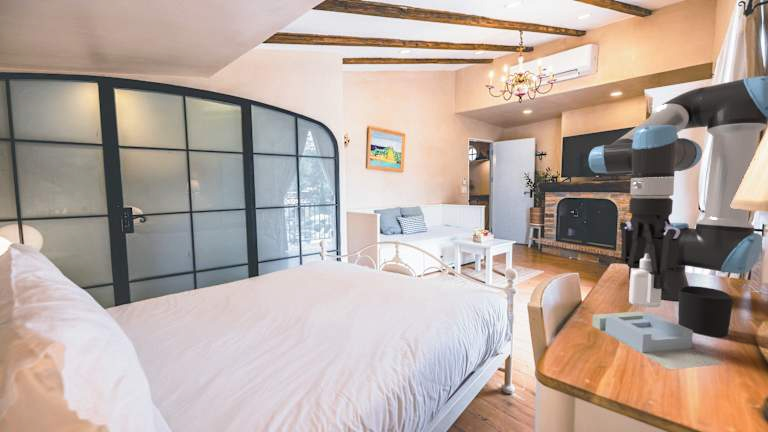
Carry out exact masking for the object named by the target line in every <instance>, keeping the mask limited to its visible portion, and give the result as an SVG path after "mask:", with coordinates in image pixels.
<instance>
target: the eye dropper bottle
mask: <svg viewBox="0 0 768 432" xmlns="http://www.w3.org/2000/svg"><path fill="white" fill-rule="evenodd" d="M649 272H652V266H651V259H650V256H649V254H645V256H644V258H642V259H640V269H636V270H633V271H632V272H631V274H630V280H629V291H628V292H629V293H628V302H629V303H630V304H631V305H632V306H635V307H641V308H643V307H644V308H659V307H661V306H660V305H661V302H653V303H649V302H647V289H648V273H649Z"/></svg>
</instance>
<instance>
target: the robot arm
mask: <svg viewBox="0 0 768 432" xmlns="http://www.w3.org/2000/svg"><path fill="white" fill-rule="evenodd" d="M704 127H707V129H706V131H707V133H708V134H710V135H711V136H712V146H711V147H712V148H711V155H710V164H709V173H708V180H707V181H708V183H707V190H706V199H705V206H704V207H705V208H704V215H703V218H702V219H700V220H698V221H697V222H696V223H695V228H692V227H691V228H690V225H689V224H688V223H687V222H671V221H670V218H669V217H670V215H672V213H673V204H674V203H673V202H674V201H673V199H672V198H671V196H673V195H674V186H675V172H683V171H686V170H689V169H691V168H693V167H695V166H696V165H698V163H699V162H700V160H701V159H702V157H703V156H702V155H703V150H702V147H701V145H699V143H697V142H696V141H694V140H692V139H689V138H686V137H680V138H679V135H678V133H679V132H681V131H684V130H687V129H696V128H704ZM767 127H768V75H760V76H755V77H744V78H743V79H737V80H734V81H728V82H724V83H719V84H714V85H709V86H705V87H698V88H694V89H691V90H688V91H685V92H682V93H681V94H679V95H677V96H675V97H673V98H671V99H669V100H668V101H665V102H664V103H663V104H661V105H659V106H658V107H657V108H655V109H654V110H653V111H652V113H651V114H650V116H649V117H648V118H646V119H645V120H644V121H642V122H641V123H639V124H638V125H637V126H635V127H634V128H633V129H631V130H630V131H628V132H626V133H625V134H624V135H623V136H621V137H619V138H618V139H616V140H615V141H614V142H612V143H611V144H606V145H605V144H602V145H600V146H596V147H593V148H592V149H591V151H590V152H589V154H588V165H589V168H590V170H591V171H592V173H596V174H606V175H607V174H614V173H615V174H619V173H631V175H630V191H629V192H630V193H629V195H630V196H633V197H630V198H629V205H628V206H629V208H628V211H629V212H628V213H629V214H631V218H629V221H625V222H620V223H619V227H620V232H621V255H620V256H621V258H620V259H621V263H623V264H626V265H627V267H628V279H629V281H630V274H631V272H632V271H633V270H636V269H640V259H642V258H644V256H645V254H649V256H650V259H651V266H652V272H649V273H648V289H647V302H649V303H653V302H660V303H661V302H662V301H661V300H666V301H668V300H669V301H679V290H680V288H682V287H684V286H690V285H689V282H688V278H687V276H686V275H687V274H686V267H693V268H699V269H703V270H711V271H716V272H721V273H729V274H737V275H742V274H747V273H748V272H750V271H752V270H753V268H754V266H755V265H756V264H757V261H758V260H759V258H760V255H761V252H762V249H763V240H764V239H763V236H762V235H761V234H759V233H757V232H755V226H754V225H753V224H752V223H751V222H750V221H748V217H749V216H748V215H749V209H748V210H741V209H733V208H731V207H730V204H731V202H732V200H733V197H734V196H735V194H736V192H737V190H738V188H739V185H740V184H741V182H742V179H743V178H744V175H745V173H746V171H747V169H748V167H749V166H750V163H751V161H752V159H753V157H754V155H755V156H756V150H757V142H758V135H759V133H760V132H762V131H764V130H765V129H766V128H767Z"/></svg>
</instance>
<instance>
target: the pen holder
mask: <svg viewBox="0 0 768 432" xmlns="http://www.w3.org/2000/svg"><path fill="white" fill-rule="evenodd" d="M733 304H734V300H733V298H732V297H731V295H730V294H728V293H727V292H726V291H723V290H719V289H716V288H710V287H703V286H697V285H695V286H694V285H689V286H684V287H682V288H680V290H679V300H678V312H677V313H678V324H679V325H681V326H683V327H686V328H688V329H691V330H693V334H697V335H700V336H706V337H711V338H725V337H727V336H728V335H729V329H730V323H731V316H732V310H733Z"/></svg>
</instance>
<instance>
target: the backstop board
mask: <svg viewBox="0 0 768 432" xmlns="http://www.w3.org/2000/svg"><path fill="white" fill-rule="evenodd" d="M643 313H644V312H642V311H627V312H614V313H599V314H598V313H597V314H592V325H591V326H592V327H593V328H596V329H598V331H601V332H602V333H604V334H606V335H608V336H610V337H612V339H615V340H617V341H618V342H620V343H622V344H623V345H625V346H627V347H629V345H628V344H626V343H624V342H623V341H621V340H619V339H617V338H615V337H614V336H612V335H610V334H608V333H607V332H605V327H606V316H612V315H614V316H616V317H618V318H620V319H622V320H637V319H643ZM630 349H632V350H634V351H636V352H638V353H640V354H641V355H643V356H644V357H646V358H648V359H650V360H652V361H653V362H655V363H658V365H661V366H662V367H664V368H666V369H667V370H676V369H682V368H684V369H689V368H699V367H700V368H701V367H706V366H707V367H708V366H716V365H718V366H719V365H724V362H723V361H722V360H719V359H718V358H715V357H714V356H712V355H707V353H705V352H703V351H701V350H698V349H696V348H694V347H692V348H686V349H675V350H664V351H653V352H640V351H639V350H637V349H635V348H633V347H631V346H630Z"/></svg>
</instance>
